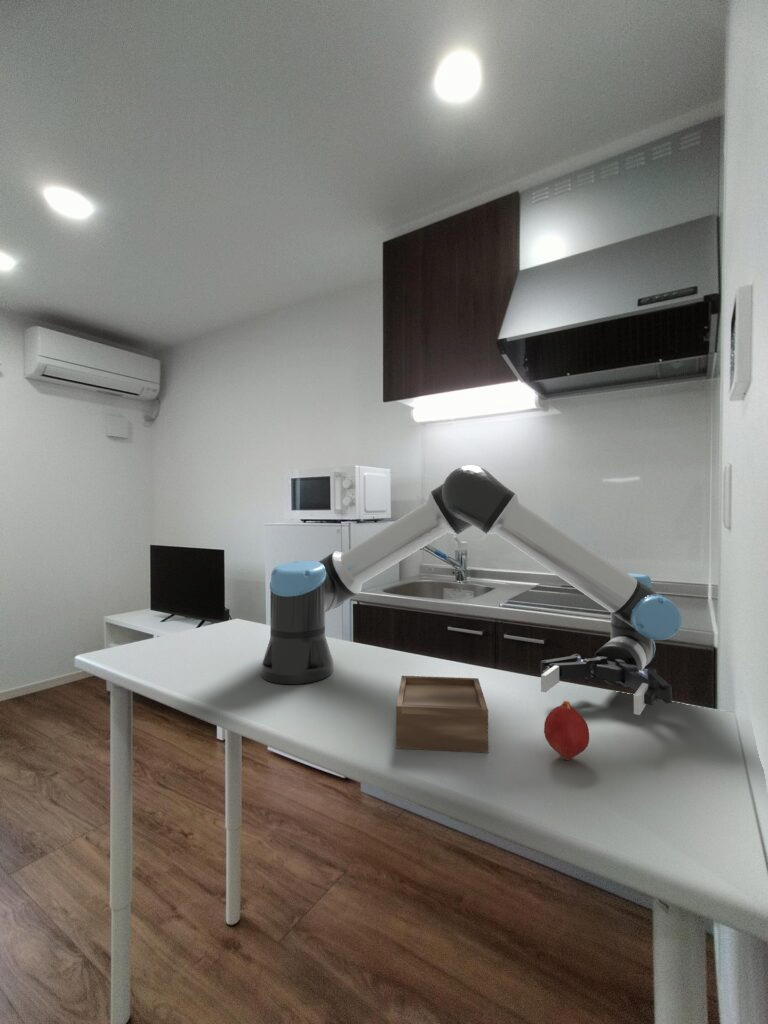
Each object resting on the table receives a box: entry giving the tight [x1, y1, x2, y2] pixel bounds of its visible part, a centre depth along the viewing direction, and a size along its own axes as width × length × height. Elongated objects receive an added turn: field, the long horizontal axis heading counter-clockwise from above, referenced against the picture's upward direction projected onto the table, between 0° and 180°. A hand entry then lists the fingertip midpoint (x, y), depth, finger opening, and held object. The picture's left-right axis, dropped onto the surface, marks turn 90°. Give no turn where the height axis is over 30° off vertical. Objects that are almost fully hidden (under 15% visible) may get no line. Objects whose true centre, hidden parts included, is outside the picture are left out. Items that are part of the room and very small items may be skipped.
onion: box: [543, 700, 590, 761], centre depth 63 cm, size 6×6×8 cm
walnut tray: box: [395, 675, 489, 754], centre depth 71 cm, size 13×13×6 cm
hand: (587, 693), depth 70 cm, fingers open, 13 cm apart
